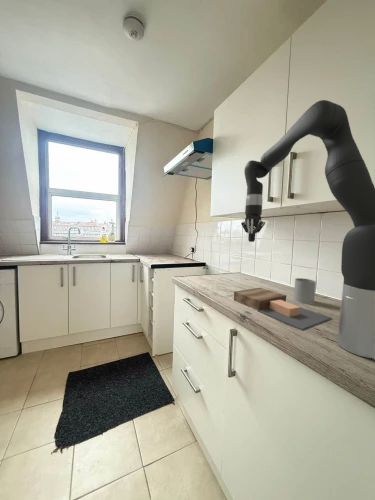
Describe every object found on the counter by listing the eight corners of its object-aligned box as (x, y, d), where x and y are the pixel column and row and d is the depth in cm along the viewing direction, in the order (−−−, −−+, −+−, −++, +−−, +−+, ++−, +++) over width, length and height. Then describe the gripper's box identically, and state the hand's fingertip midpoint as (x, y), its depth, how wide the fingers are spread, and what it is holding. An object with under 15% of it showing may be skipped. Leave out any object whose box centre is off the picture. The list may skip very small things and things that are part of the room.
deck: (285, 304, 88) (286, 295, 88) (258, 310, 79) (259, 300, 79) (259, 295, 100) (260, 287, 100) (233, 300, 91) (234, 291, 91)
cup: (318, 304, 91) (320, 282, 90) (302, 304, 89) (303, 282, 88) (304, 298, 99) (306, 278, 98) (289, 298, 98) (291, 278, 97)
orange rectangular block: (299, 314, 76) (300, 307, 75) (289, 316, 73) (289, 309, 73) (279, 306, 84) (280, 299, 83) (269, 308, 81) (270, 301, 81)
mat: (331, 318, 74) (331, 317, 74) (301, 330, 64) (301, 329, 64) (287, 304, 89) (287, 303, 89) (257, 311, 78) (257, 310, 78)
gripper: (271, 204, 90) (268, 242, 92) (248, 207, 102) (246, 241, 103) (260, 202, 86) (257, 242, 88) (237, 205, 98) (235, 240, 99)
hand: (251, 241), depth 95 cm, fingers closed
